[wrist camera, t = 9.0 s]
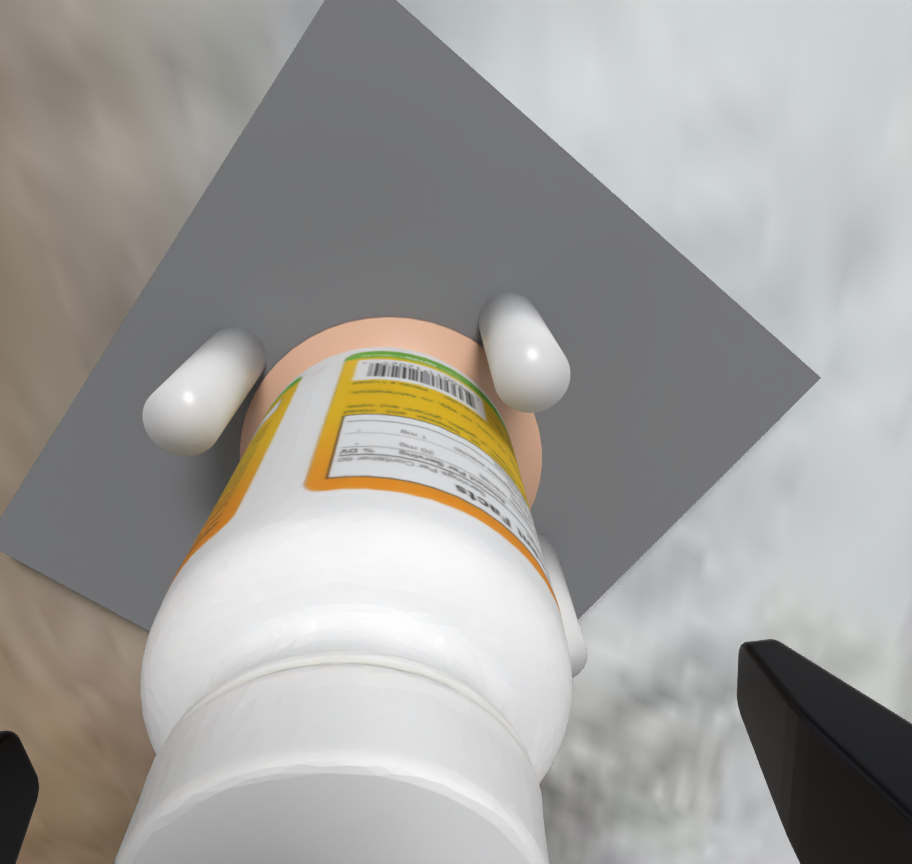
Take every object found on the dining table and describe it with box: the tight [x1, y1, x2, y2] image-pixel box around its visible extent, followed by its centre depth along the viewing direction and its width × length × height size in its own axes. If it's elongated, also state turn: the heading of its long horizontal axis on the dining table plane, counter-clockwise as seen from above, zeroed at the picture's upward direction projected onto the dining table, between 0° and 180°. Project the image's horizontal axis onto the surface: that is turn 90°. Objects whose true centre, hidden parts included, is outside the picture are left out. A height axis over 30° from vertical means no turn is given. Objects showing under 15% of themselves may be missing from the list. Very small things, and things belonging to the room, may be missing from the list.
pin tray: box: [0, 0, 821, 678], centre depth 14 cm, size 14×12×4 cm
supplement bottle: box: [114, 347, 573, 864], centre depth 11 cm, size 5×5×10 cm
